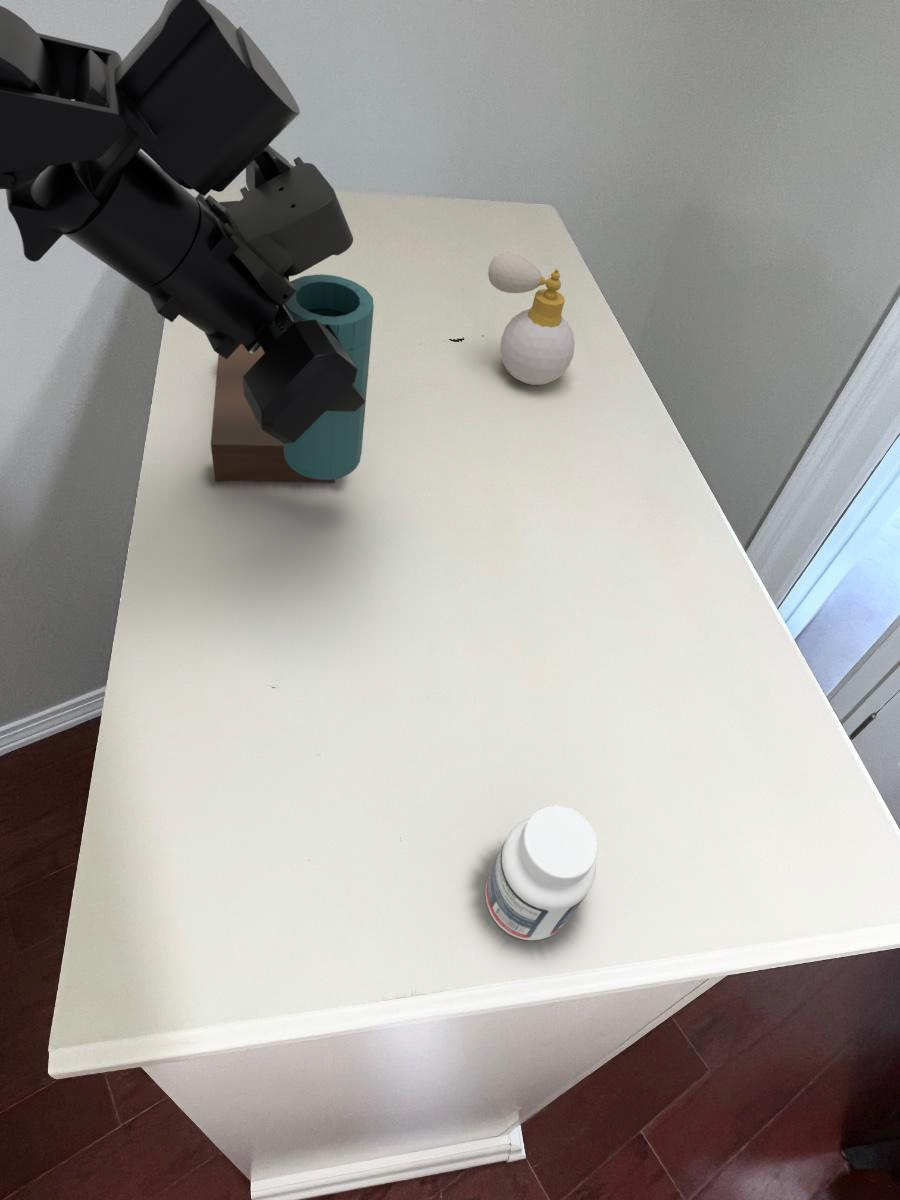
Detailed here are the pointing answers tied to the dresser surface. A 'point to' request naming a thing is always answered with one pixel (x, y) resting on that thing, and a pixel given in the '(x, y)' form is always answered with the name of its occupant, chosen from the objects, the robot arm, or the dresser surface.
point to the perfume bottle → (533, 322)
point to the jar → (340, 433)
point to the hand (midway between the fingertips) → (343, 379)
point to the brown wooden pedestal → (244, 430)
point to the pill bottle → (542, 873)
